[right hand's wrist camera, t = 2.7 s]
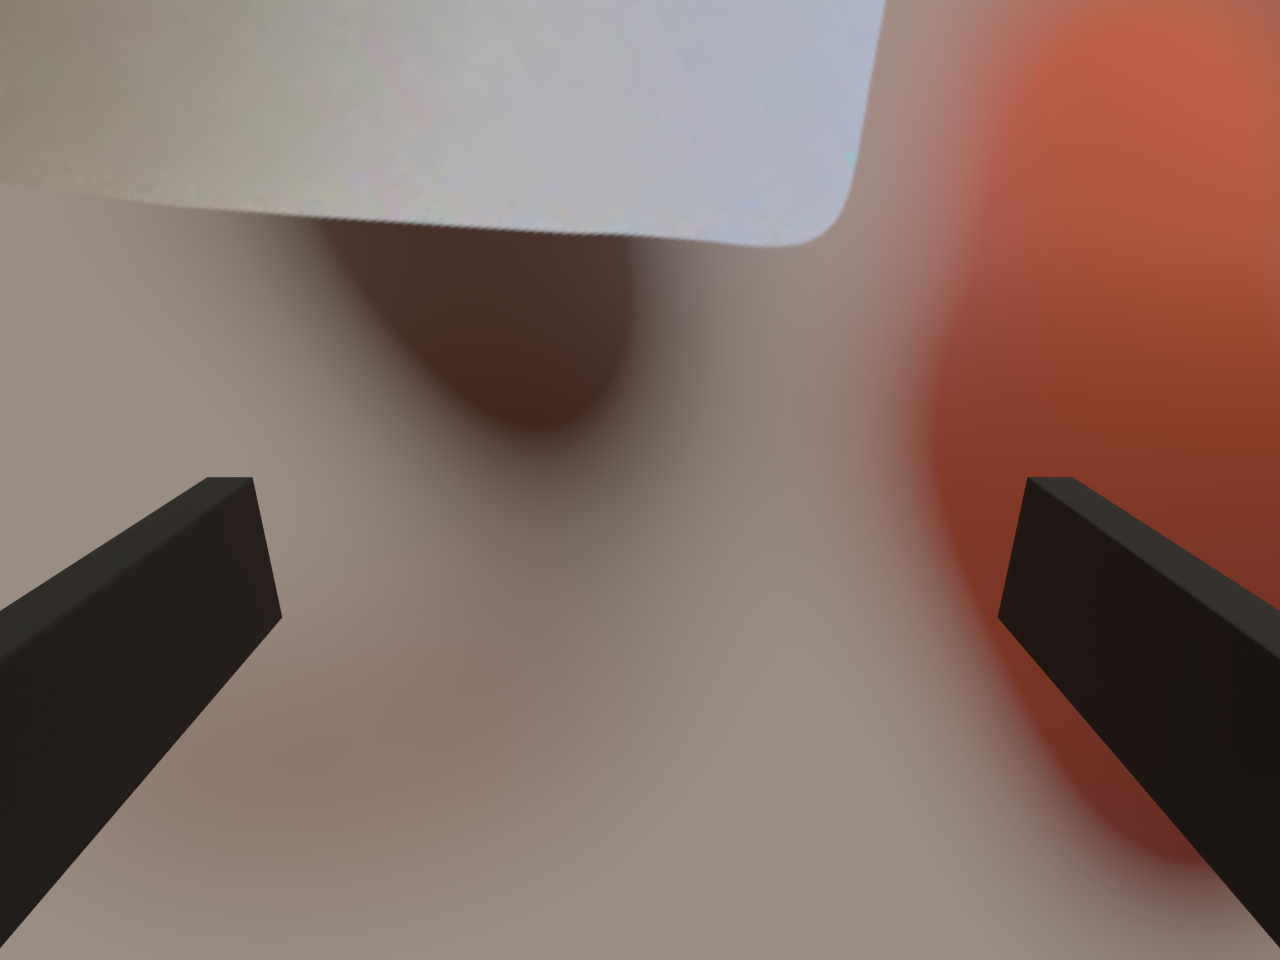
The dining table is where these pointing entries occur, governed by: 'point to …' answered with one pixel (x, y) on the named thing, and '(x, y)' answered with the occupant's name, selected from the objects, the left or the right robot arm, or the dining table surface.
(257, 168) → the dining table surface
